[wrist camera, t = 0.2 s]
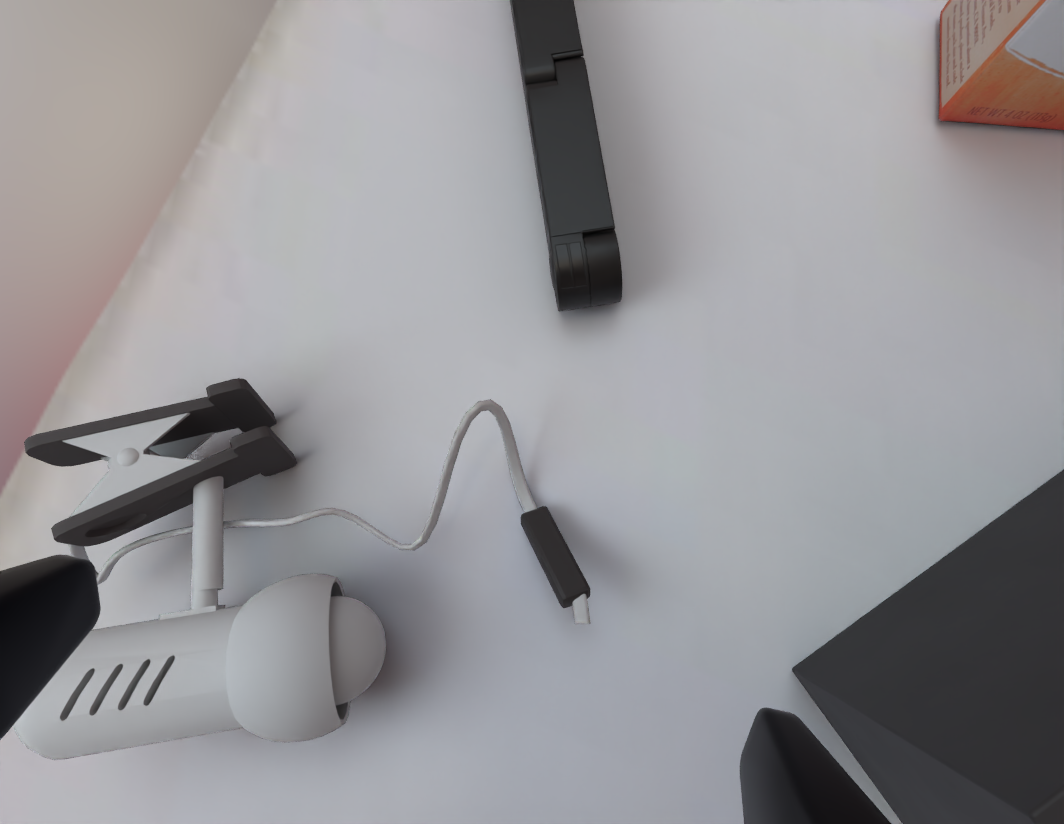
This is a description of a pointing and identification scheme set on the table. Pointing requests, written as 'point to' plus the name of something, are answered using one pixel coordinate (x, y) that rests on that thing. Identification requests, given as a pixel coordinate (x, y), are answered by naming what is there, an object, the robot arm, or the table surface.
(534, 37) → the tablet stand
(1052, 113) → the cracker box
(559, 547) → the clip-on lamp
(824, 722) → the table surface
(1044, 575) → the speaker
